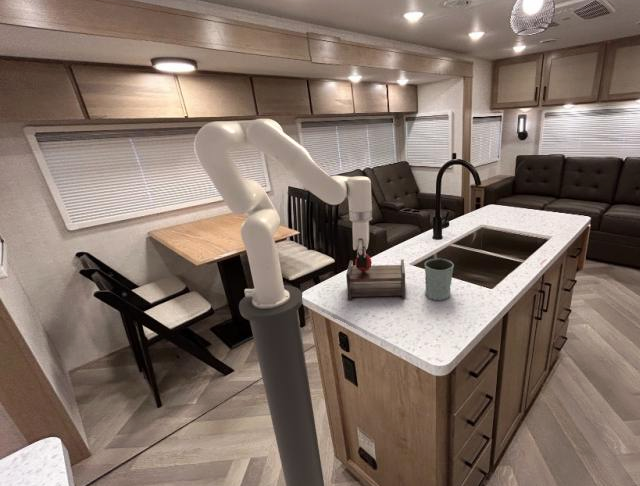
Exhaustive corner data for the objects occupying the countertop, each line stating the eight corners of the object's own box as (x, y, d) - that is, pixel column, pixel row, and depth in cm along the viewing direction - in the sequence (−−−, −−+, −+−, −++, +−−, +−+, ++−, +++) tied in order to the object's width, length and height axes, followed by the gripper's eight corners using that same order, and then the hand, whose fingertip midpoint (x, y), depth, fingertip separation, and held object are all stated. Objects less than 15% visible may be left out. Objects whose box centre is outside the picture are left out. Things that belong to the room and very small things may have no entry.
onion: (375, 271, 114) (374, 251, 111) (362, 277, 111) (361, 256, 108) (365, 267, 118) (364, 246, 115) (352, 271, 115) (351, 251, 112)
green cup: (424, 301, 111) (425, 270, 107) (422, 287, 121) (423, 257, 116) (453, 301, 111) (455, 270, 106) (449, 287, 120) (451, 257, 116)
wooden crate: (348, 300, 112) (346, 274, 108) (351, 284, 123) (349, 260, 119) (405, 298, 113) (405, 273, 109) (403, 283, 124) (403, 259, 120)
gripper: (352, 208, 114) (354, 252, 121) (346, 222, 98) (349, 272, 105) (373, 207, 114) (374, 251, 121) (370, 222, 99) (372, 272, 105)
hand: (363, 261), depth 113 cm, fingers open, 9 cm apart
